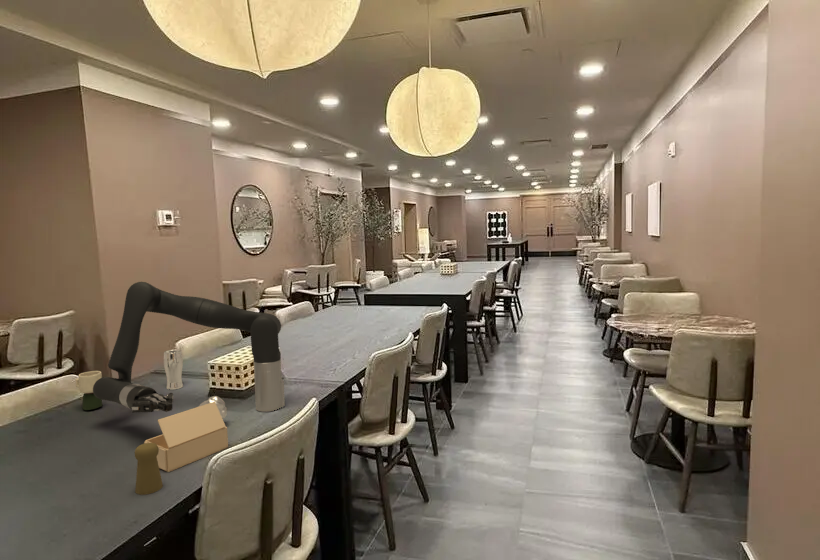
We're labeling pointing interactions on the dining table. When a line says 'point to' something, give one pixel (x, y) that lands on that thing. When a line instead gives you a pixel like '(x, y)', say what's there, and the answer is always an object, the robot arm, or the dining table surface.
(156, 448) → the cork
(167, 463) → the carton
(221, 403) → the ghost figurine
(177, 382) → the beer glass
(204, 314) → the robot arm
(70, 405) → the dining table surface
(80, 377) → the trophy cup
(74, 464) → the dining table surface
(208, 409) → the flap
